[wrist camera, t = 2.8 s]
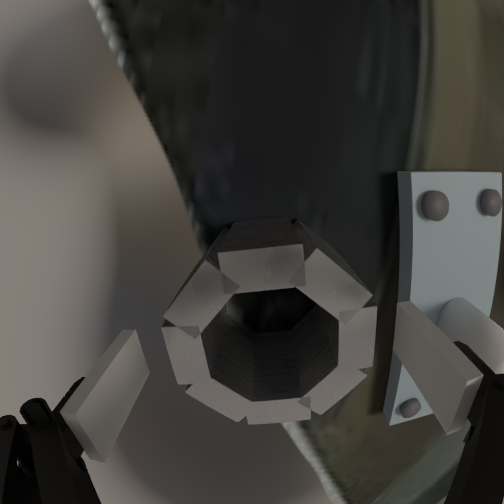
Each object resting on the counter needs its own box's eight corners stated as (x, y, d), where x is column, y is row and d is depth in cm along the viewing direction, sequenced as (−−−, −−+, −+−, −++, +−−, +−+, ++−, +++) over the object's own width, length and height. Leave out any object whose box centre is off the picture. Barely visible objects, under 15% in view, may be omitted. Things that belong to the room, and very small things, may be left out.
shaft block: (397, 171, 17) (486, 180, 9) (484, 171, 17) (574, 183, 8) (382, 410, 23) (413, 487, 14) (455, 389, 22) (497, 451, 13)
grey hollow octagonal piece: (185, 228, 19) (144, 260, 12) (337, 211, 18) (378, 235, 11) (210, 356, 21) (192, 425, 15) (341, 343, 21) (366, 409, 14)
